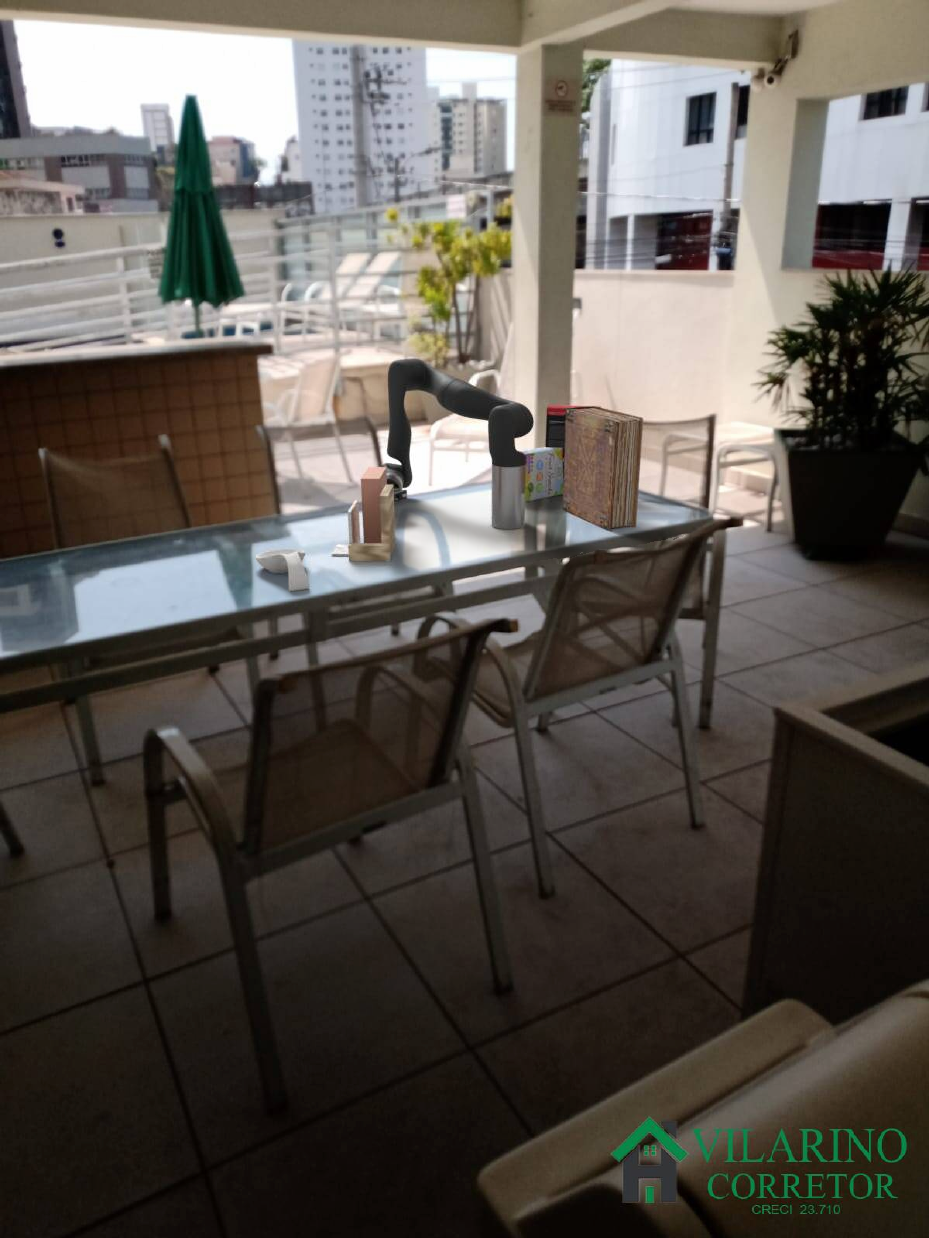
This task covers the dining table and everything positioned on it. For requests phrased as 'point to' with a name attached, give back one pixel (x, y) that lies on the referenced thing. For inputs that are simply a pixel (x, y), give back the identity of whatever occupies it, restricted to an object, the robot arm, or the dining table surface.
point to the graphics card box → (557, 427)
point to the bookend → (350, 530)
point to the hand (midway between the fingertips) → (381, 501)
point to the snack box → (543, 473)
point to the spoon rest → (286, 566)
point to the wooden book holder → (387, 533)
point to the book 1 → (372, 502)
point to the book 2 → (602, 466)
